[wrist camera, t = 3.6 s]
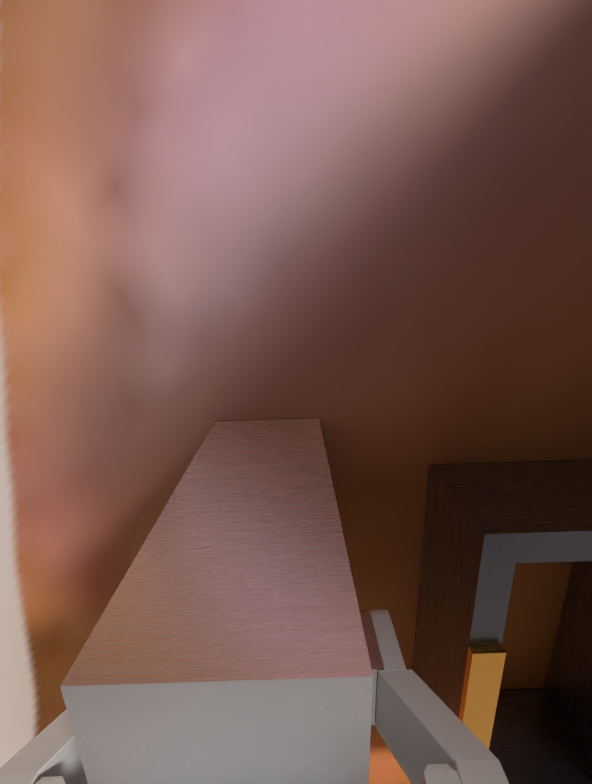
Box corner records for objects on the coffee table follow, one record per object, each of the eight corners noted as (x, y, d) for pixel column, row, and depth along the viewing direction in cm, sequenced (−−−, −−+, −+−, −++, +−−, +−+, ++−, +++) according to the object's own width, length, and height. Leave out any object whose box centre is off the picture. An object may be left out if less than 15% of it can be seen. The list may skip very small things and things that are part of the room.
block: (214, 421, 13) (60, 685, 4) (318, 418, 13) (372, 676, 4) (233, 615, 15) (159, 1029, 7) (320, 612, 15) (357, 1022, 7)
